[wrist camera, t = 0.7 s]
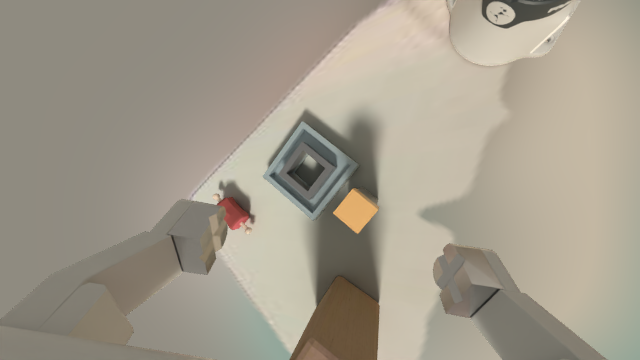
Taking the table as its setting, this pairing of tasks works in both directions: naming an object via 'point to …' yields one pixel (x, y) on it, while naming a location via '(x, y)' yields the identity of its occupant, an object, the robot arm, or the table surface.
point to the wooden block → (341, 326)
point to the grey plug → (357, 209)
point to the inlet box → (326, 184)
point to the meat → (233, 213)
